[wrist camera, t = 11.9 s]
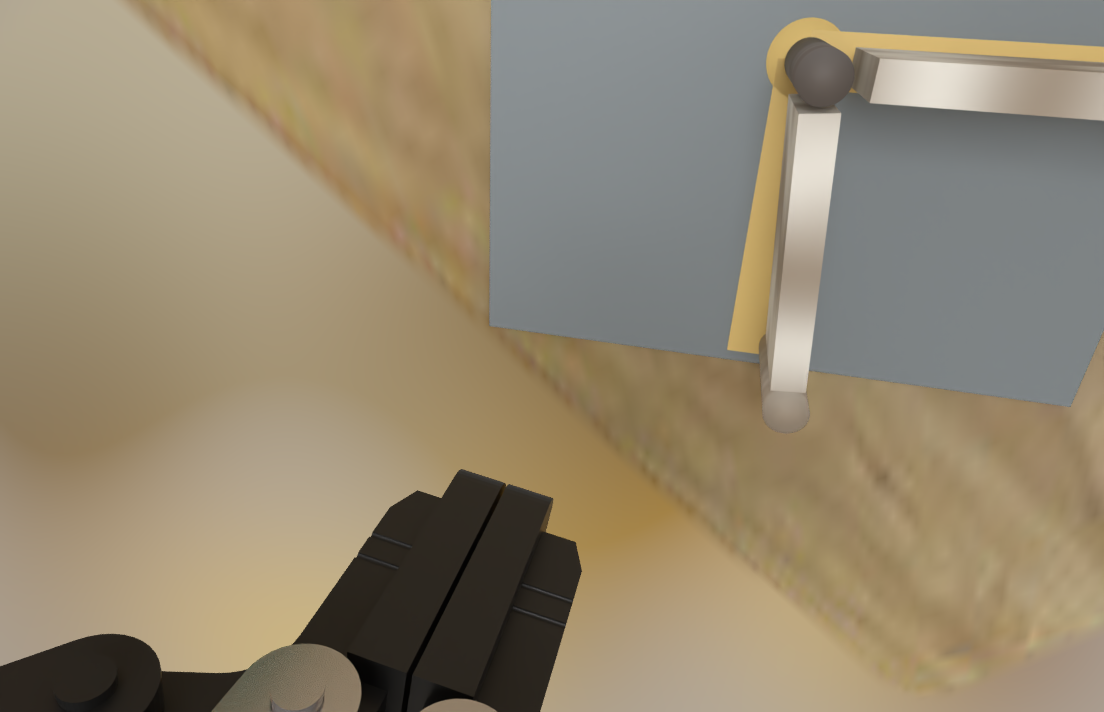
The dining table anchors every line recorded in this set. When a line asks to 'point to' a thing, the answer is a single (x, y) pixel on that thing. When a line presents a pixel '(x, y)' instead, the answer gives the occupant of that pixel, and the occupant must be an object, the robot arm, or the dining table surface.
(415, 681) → the robot arm
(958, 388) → the card
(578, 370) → the dining table surface
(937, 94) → the fixed fence
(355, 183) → the dining table surface
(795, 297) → the hinged panel
